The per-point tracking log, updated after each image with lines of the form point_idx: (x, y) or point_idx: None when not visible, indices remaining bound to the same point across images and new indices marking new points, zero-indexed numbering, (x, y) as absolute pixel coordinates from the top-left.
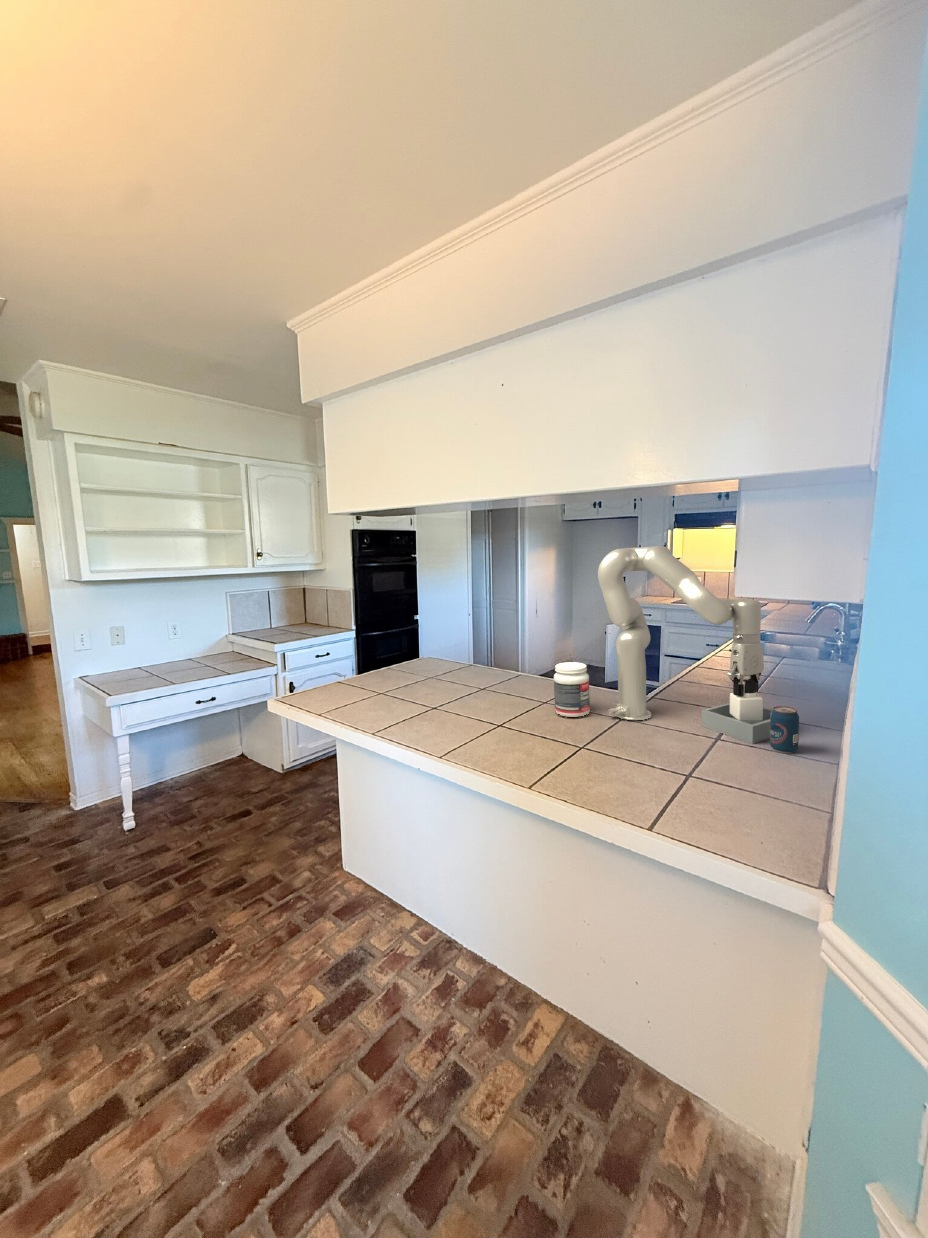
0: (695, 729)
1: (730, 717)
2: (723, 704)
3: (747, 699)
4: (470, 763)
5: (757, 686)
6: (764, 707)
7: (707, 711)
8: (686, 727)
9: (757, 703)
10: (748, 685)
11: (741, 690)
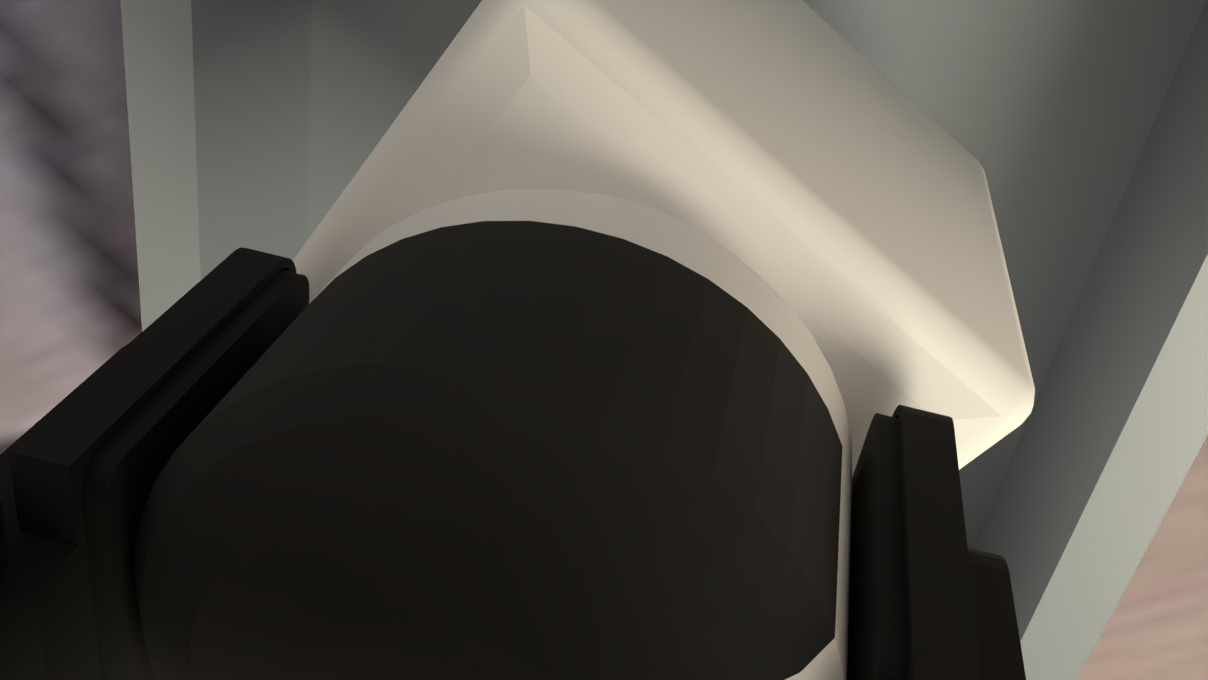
0: (1192, 575)
1: None
2: None
3: (877, 263)
4: None
5: (176, 350)
6: (129, 86)
7: (1049, 678)
8: (1182, 672)
9: (681, 28)
10: (758, 537)
11: (957, 565)
